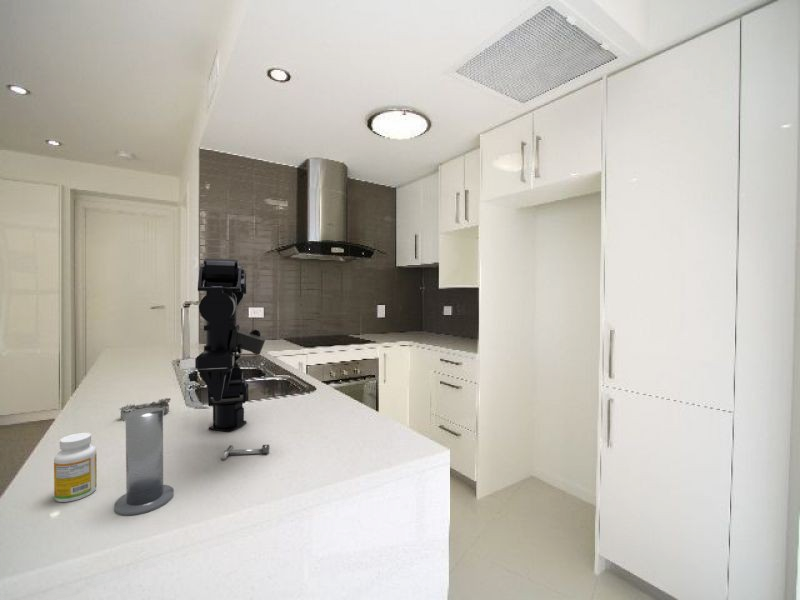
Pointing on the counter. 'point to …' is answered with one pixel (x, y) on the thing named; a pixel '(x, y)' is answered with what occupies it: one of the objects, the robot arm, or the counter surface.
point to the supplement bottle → (75, 468)
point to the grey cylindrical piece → (144, 456)
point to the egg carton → (160, 404)
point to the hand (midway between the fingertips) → (221, 394)
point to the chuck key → (245, 451)
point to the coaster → (127, 510)
